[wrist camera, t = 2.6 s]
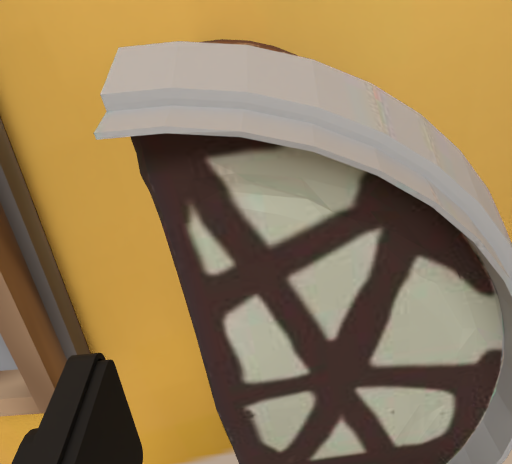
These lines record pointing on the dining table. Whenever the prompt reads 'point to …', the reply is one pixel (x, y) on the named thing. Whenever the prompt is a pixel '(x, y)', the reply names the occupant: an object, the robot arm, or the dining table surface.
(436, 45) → the dining table surface
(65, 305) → the board
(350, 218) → the food container
